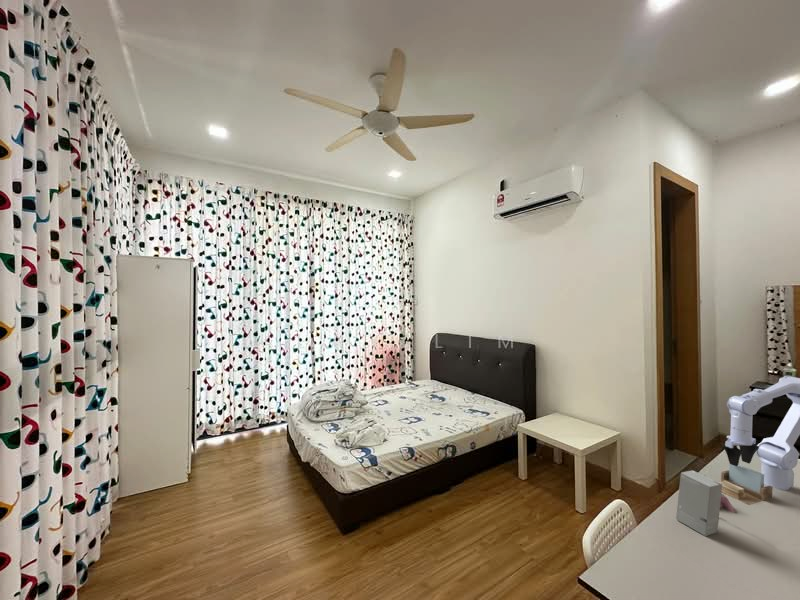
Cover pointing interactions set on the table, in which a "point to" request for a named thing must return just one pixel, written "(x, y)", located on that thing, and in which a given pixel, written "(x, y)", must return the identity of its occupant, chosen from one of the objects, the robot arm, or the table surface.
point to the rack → (749, 491)
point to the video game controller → (726, 504)
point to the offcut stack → (732, 490)
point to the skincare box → (699, 502)
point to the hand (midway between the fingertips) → (739, 463)
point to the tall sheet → (746, 477)
